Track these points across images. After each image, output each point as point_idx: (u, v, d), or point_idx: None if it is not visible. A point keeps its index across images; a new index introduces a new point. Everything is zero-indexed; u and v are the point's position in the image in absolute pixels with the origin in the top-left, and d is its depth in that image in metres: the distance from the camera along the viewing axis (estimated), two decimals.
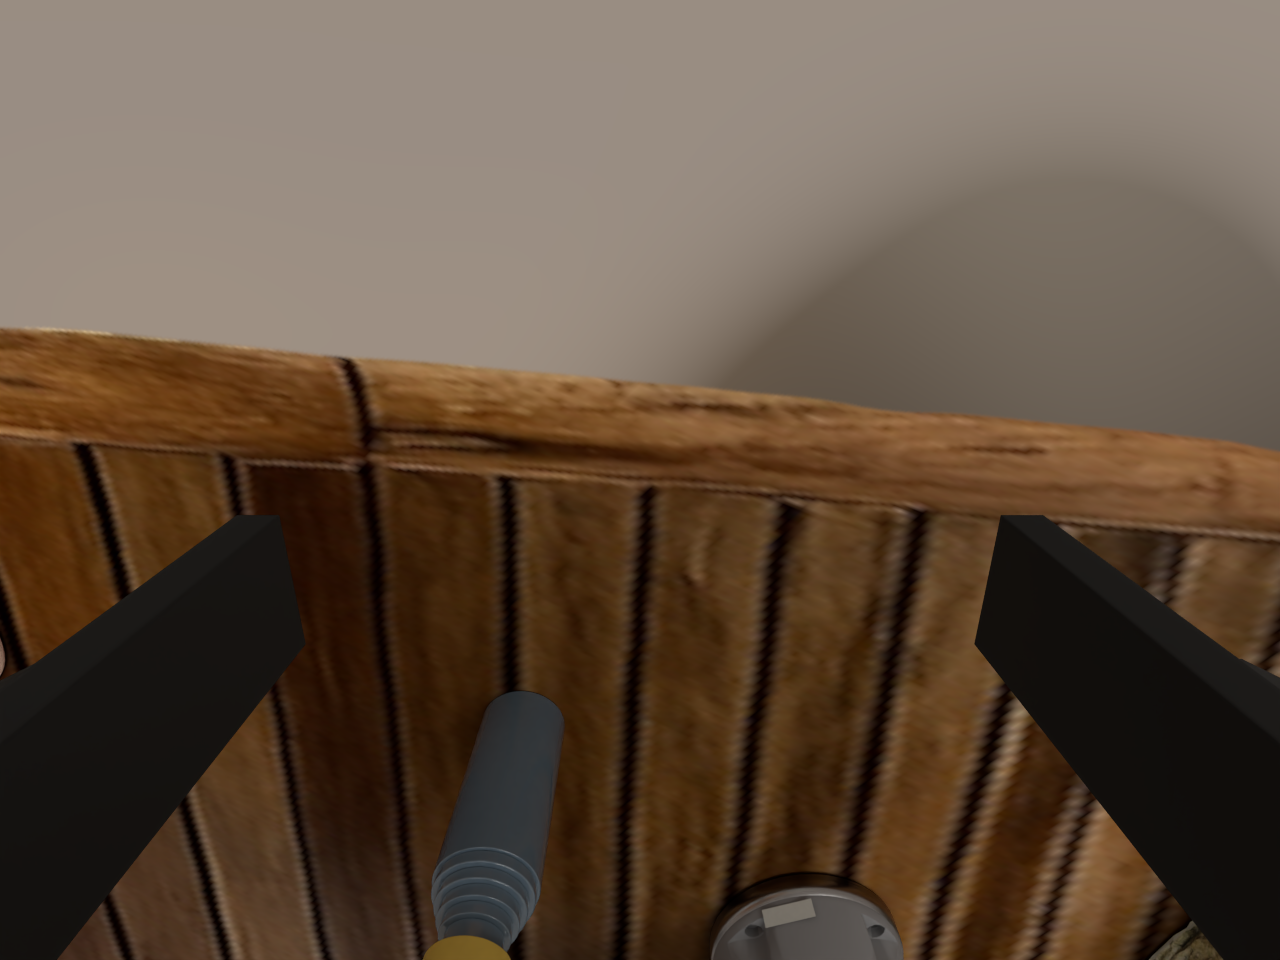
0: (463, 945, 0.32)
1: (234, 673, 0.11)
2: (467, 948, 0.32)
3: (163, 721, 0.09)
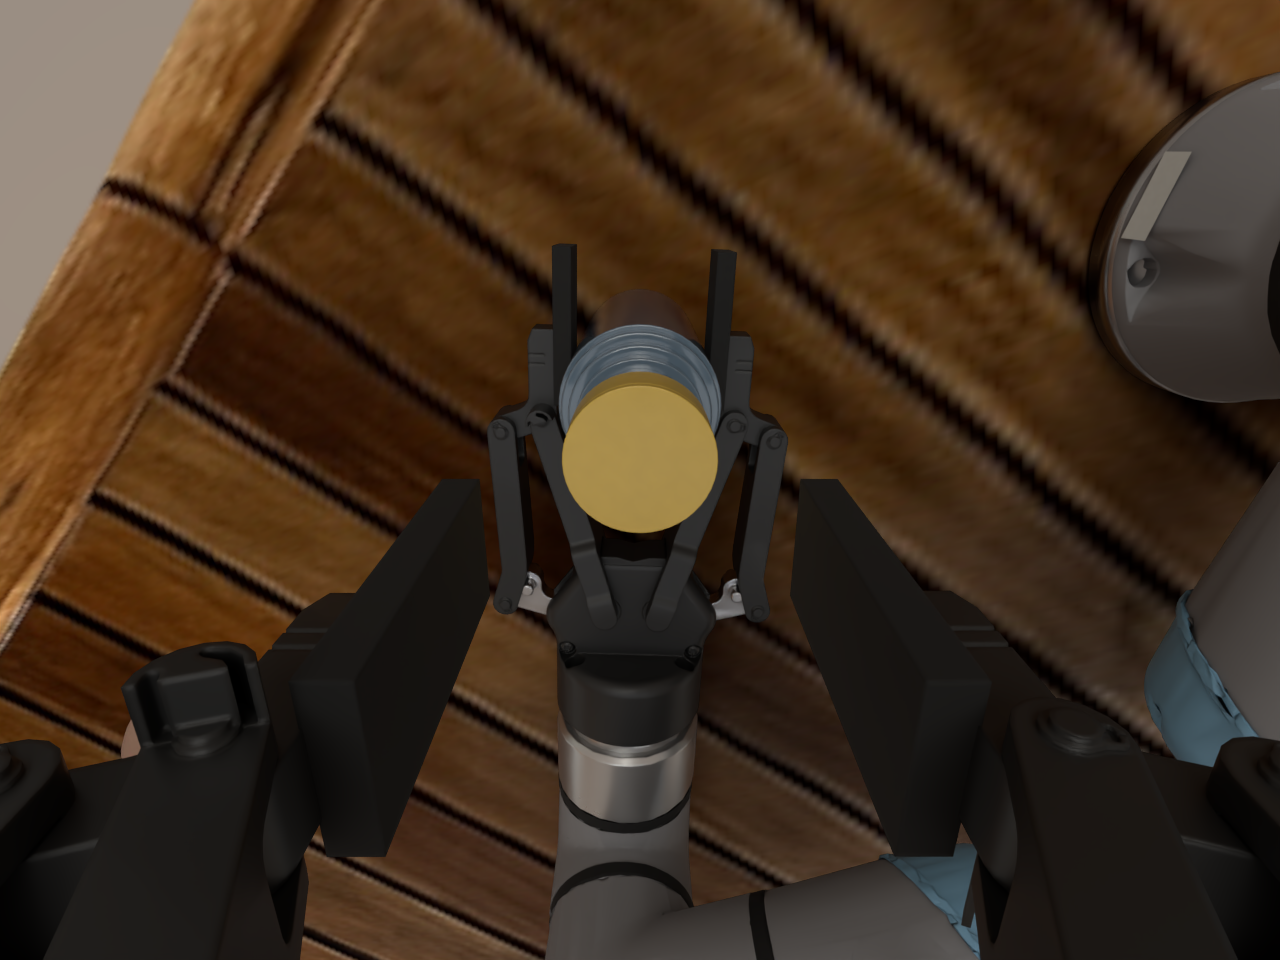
0: (582, 404, 0.20)
1: (462, 612, 0.12)
2: (584, 399, 0.20)
3: (435, 643, 0.11)
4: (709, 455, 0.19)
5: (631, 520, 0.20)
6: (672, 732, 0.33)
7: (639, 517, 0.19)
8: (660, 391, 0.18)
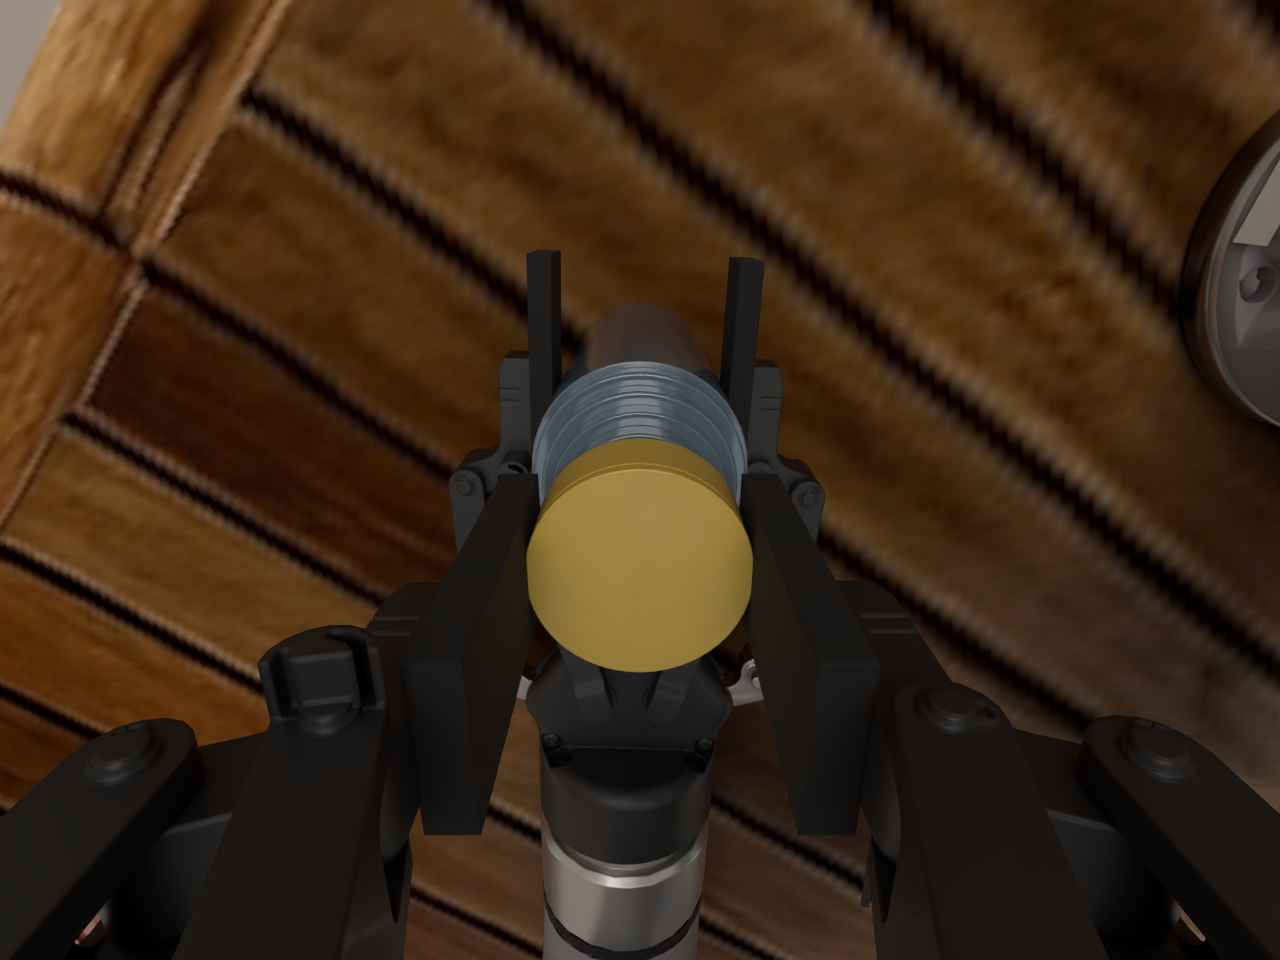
0: (556, 486, 0.14)
1: (527, 602, 0.13)
2: (559, 480, 0.13)
3: (511, 632, 0.11)
4: (742, 567, 0.13)
5: (627, 655, 0.13)
6: (679, 845, 0.27)
7: (638, 651, 0.13)
8: (670, 477, 0.12)
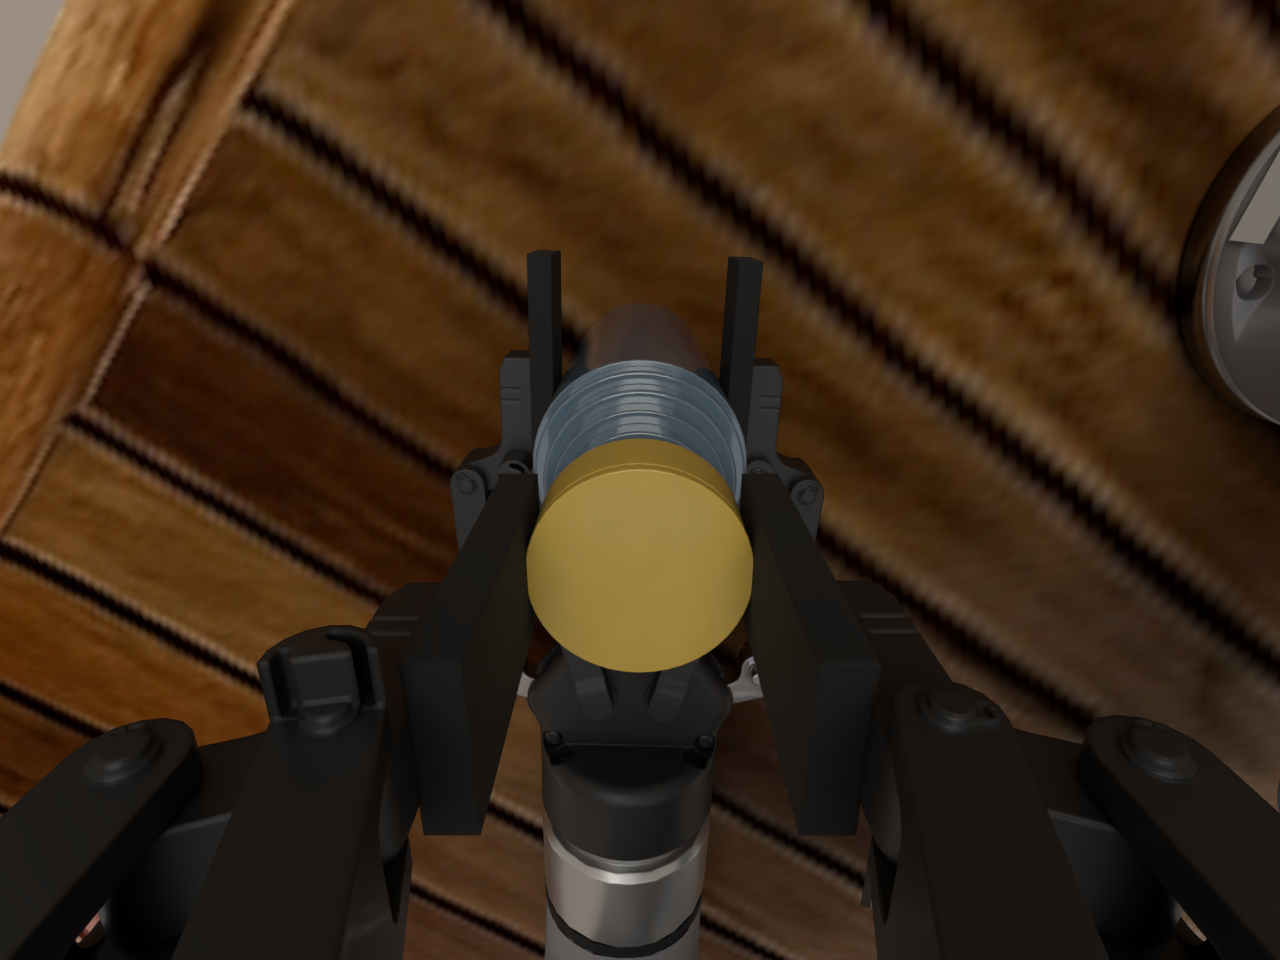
0: None
1: (527, 602, 0.13)
2: None
3: (511, 632, 0.11)
4: (550, 527, 0.12)
5: (709, 517, 0.12)
6: (680, 842, 0.28)
7: (696, 514, 0.12)
8: (554, 632, 0.13)
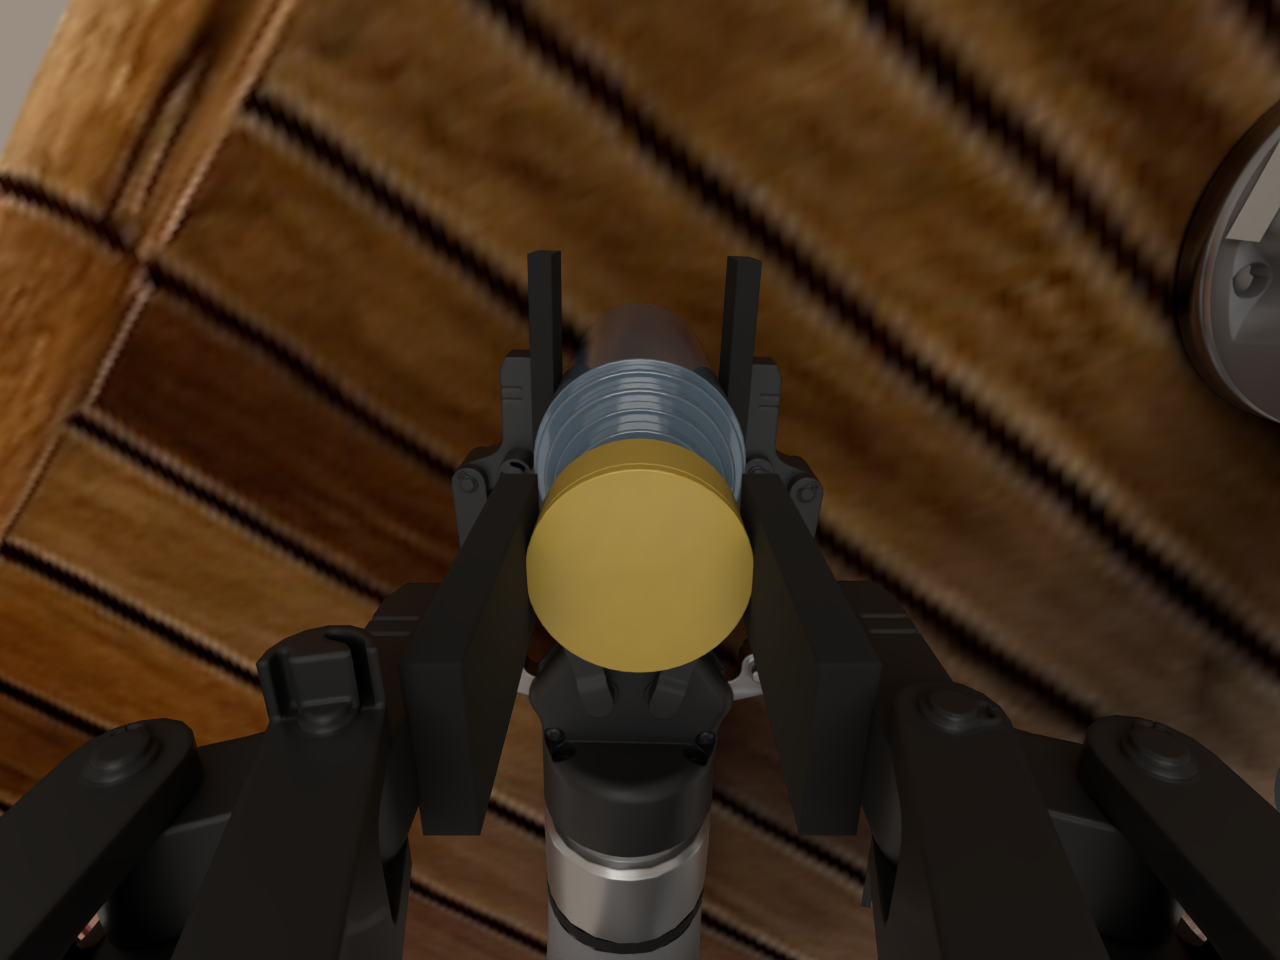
0: (682, 456, 0.13)
1: (527, 602, 0.13)
2: (693, 461, 0.13)
3: (510, 632, 0.11)
4: (672, 658, 0.13)
5: (546, 585, 0.13)
6: (681, 838, 0.28)
7: (554, 594, 0.13)
8: (749, 579, 0.13)
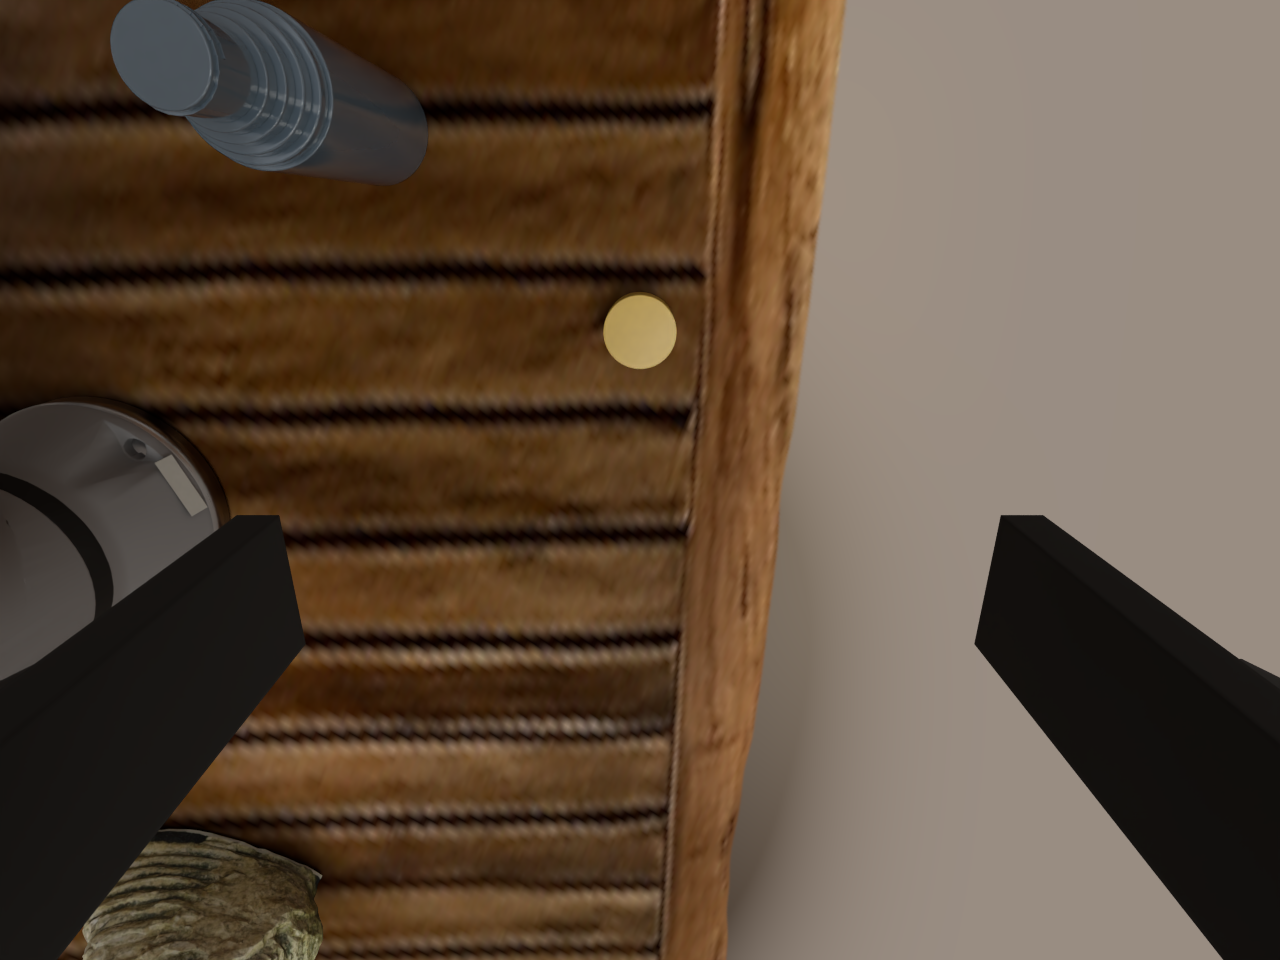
0: (653, 296, 0.41)
1: (234, 673, 0.11)
2: (657, 297, 0.41)
3: (164, 721, 0.09)
4: (650, 363, 0.41)
5: (610, 335, 0.40)
6: None
7: (612, 339, 0.40)
8: (674, 333, 0.40)
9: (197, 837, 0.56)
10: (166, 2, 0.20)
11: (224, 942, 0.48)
